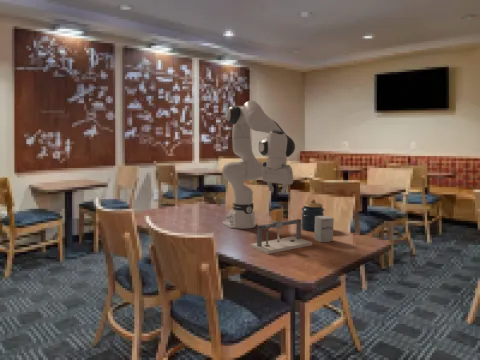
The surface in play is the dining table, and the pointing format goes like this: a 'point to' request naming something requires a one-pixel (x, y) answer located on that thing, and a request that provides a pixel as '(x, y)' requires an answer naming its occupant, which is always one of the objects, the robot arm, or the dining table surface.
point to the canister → (311, 214)
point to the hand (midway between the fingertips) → (277, 192)
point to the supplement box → (323, 228)
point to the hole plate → (283, 243)
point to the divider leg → (277, 220)
